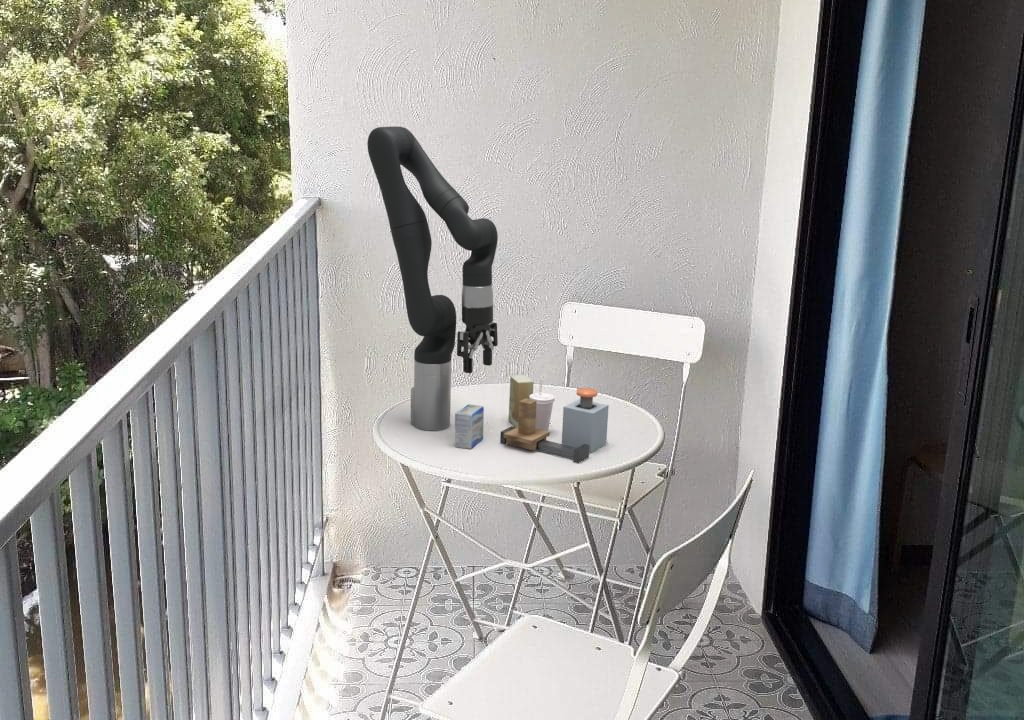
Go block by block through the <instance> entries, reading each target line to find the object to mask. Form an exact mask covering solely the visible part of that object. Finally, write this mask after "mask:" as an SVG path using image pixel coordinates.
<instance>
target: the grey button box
mask: <svg viewBox="0 0 1024 720" xmlns="http://www.w3.org/2000/svg"><path fill="white" fill-rule="evenodd" d="M609 406H610V405H608V404H605V403H600V402H594V401H593V404H592V409H590V410H588V409H584V408H580V398H579V399H577V400H574V401H573V402H571V403H568V404H566V405H565V406H563V407H562V408H563V411H562V429H561V430H562V431H561V444H563V445H568V446H572V447H576V448H578V447H580V446H582V445H583V444H587V445H590V447H589V454H592V453H594V452H595V451H597V450H599V449H600V447H601V448H603V446H605V444H606V445H607V436H608V423H609V422H608V419H609ZM598 448H599V449H598Z"/></svg>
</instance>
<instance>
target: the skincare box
mask: <svg viewBox="0 0 1024 720" xmlns="http://www.w3.org/2000/svg"><path fill="white" fill-rule="evenodd" d="M509 380H510V381H509V398H508V399H509V400H508V401H509V403H508V418H507V419H508V421H509V422H510V423H511V424H512V425H513V427H516V428H517V427H518V422H519V401H521V400H524V399H529V396H530V395H531V394H533V393H534V381H533V380H532V379H531V378H530V377H529V376H528V375H526V374H519V375H517V374H515V375H510V379H509Z"/></svg>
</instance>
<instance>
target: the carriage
mask: <svg viewBox="0 0 1024 720" xmlns="http://www.w3.org/2000/svg"><path fill="white" fill-rule="evenodd" d="M536 402H537V401H535V400H531V399H524V400H521V401H519V422H518V427H516V428H514V429H512V430H510V431H508V432H506V433H504V438H506V444H505V445H510V446H514V447H518V448H522V449H527V450H530V451H534V452H535V450H536V443H537V442H538V441H540V440H542V439H543V440H547V438H548V437H549V436H550V431H549V430H548V431H544V430H540V429H536V428H535V426H536Z"/></svg>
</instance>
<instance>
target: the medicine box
mask: <svg viewBox="0 0 1024 720" xmlns="http://www.w3.org/2000/svg"><path fill="white" fill-rule="evenodd" d="M454 413H455V412H454ZM484 413H485V407H484V405H478V404H466V406H464V407H463V408H461V409H460V410H458V411H457V412H456V413H455V414H454V447H456V448H457V447H458V448H461V449H468V450H472V449H473V448H474V447H475V446H477V445H478V444H479V443H480V442H482V440H483V439H484V416H485V415H484Z"/></svg>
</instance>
